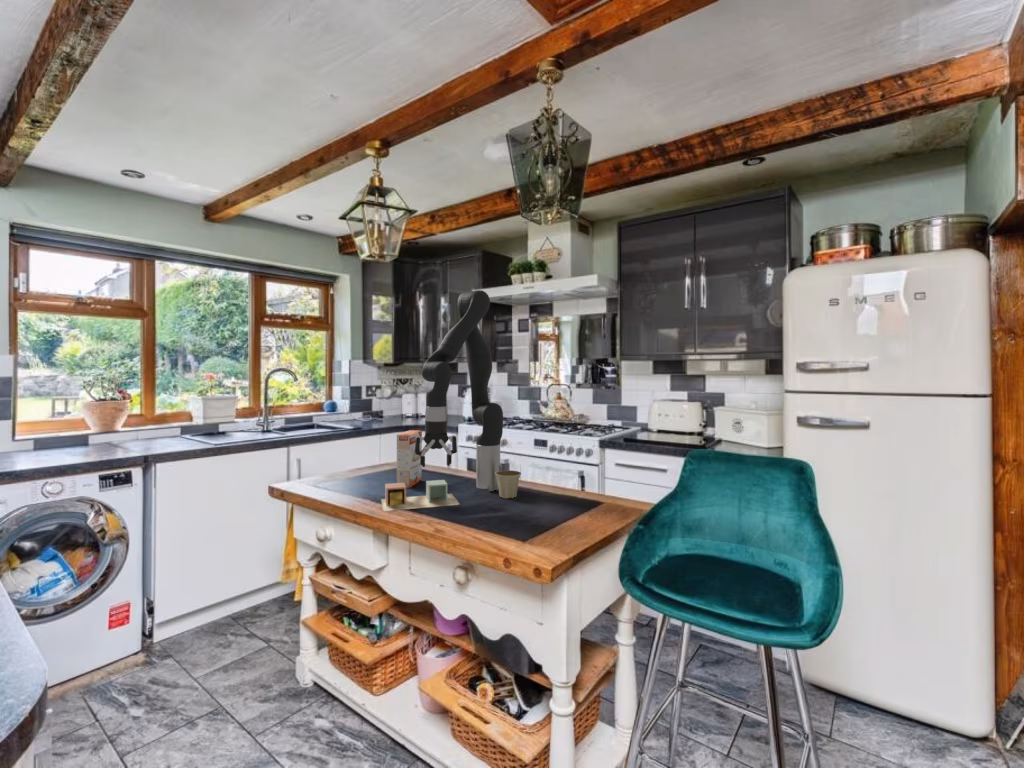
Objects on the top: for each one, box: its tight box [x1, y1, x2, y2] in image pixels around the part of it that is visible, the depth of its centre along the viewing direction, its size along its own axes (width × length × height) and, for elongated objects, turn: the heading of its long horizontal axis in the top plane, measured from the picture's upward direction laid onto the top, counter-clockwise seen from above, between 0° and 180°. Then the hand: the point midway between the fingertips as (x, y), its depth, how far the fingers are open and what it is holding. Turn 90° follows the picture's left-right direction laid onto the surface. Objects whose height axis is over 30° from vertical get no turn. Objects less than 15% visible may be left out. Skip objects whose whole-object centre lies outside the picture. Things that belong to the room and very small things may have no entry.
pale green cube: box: [425, 479, 448, 503], centre depth 179 cm, size 6×6×6 cm
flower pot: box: [495, 469, 522, 499], centre depth 187 cm, size 9×9×9 cm
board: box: [380, 493, 460, 512], centre depth 177 cm, size 25×15×1 cm, turn 107°
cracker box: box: [396, 429, 423, 489], centre depth 205 cm, size 14×6×21 cm, turn 171°
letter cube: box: [389, 490, 402, 505], centre depth 175 cm, size 4×4×4 cm
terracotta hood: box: [384, 482, 407, 506], centre depth 175 cm, size 6×6×6 cm
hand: (435, 466), depth 179 cm, fingers open, 8 cm apart
